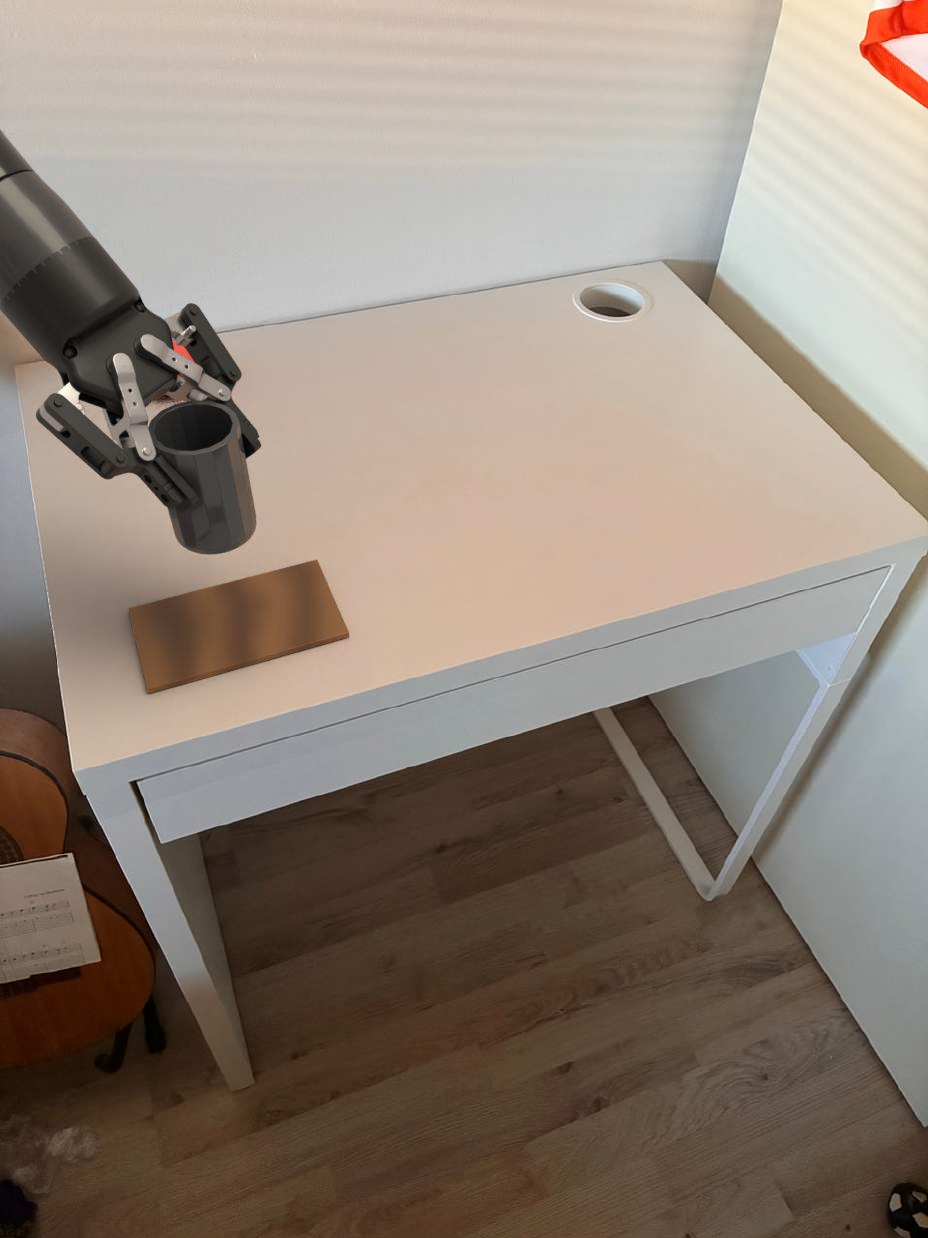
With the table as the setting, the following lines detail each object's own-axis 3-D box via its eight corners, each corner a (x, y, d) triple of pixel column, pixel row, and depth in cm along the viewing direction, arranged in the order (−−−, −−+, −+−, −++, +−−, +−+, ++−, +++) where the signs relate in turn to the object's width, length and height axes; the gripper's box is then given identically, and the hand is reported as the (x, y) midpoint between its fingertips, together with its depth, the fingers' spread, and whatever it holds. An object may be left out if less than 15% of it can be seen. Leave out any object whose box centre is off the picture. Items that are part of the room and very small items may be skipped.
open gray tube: (183, 563, 67) (156, 462, 61) (167, 510, 71) (140, 410, 64) (265, 542, 69) (247, 443, 62) (245, 492, 72) (227, 392, 66)
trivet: (148, 694, 73) (147, 689, 72) (129, 612, 78) (127, 607, 78) (349, 637, 77) (349, 632, 76) (317, 563, 82) (317, 558, 82)
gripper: (-32, 292, 53) (174, 525, 58) (146, 195, 62) (312, 406, 67) (-62, 347, 59) (129, 555, 64) (105, 251, 67) (262, 442, 72)
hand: (222, 478), depth 65 cm, fingers closed on open gray tube, 6 cm apart
